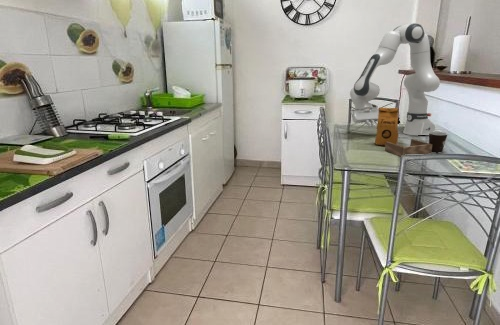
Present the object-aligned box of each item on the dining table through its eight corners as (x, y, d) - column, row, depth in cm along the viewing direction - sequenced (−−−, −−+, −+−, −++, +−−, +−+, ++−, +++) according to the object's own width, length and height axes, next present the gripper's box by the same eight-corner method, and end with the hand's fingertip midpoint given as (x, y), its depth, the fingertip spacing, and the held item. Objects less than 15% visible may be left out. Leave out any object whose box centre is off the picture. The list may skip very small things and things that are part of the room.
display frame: (411, 147, 188) (412, 138, 187) (431, 153, 176) (432, 144, 174) (384, 150, 183) (385, 141, 182) (403, 157, 170) (404, 147, 169)
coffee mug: (435, 154, 174) (438, 135, 171) (422, 150, 182) (425, 132, 179) (452, 152, 177) (455, 134, 174) (439, 148, 185) (442, 130, 182)
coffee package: (396, 147, 188) (400, 109, 182) (373, 145, 194) (376, 108, 187) (398, 144, 196) (402, 107, 190) (376, 142, 202) (379, 106, 196)
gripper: (351, 106, 205) (360, 124, 199) (379, 105, 211) (388, 122, 205) (347, 112, 211) (354, 130, 205) (374, 111, 217) (382, 128, 211)
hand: (371, 126), depth 205 cm, fingers closed
